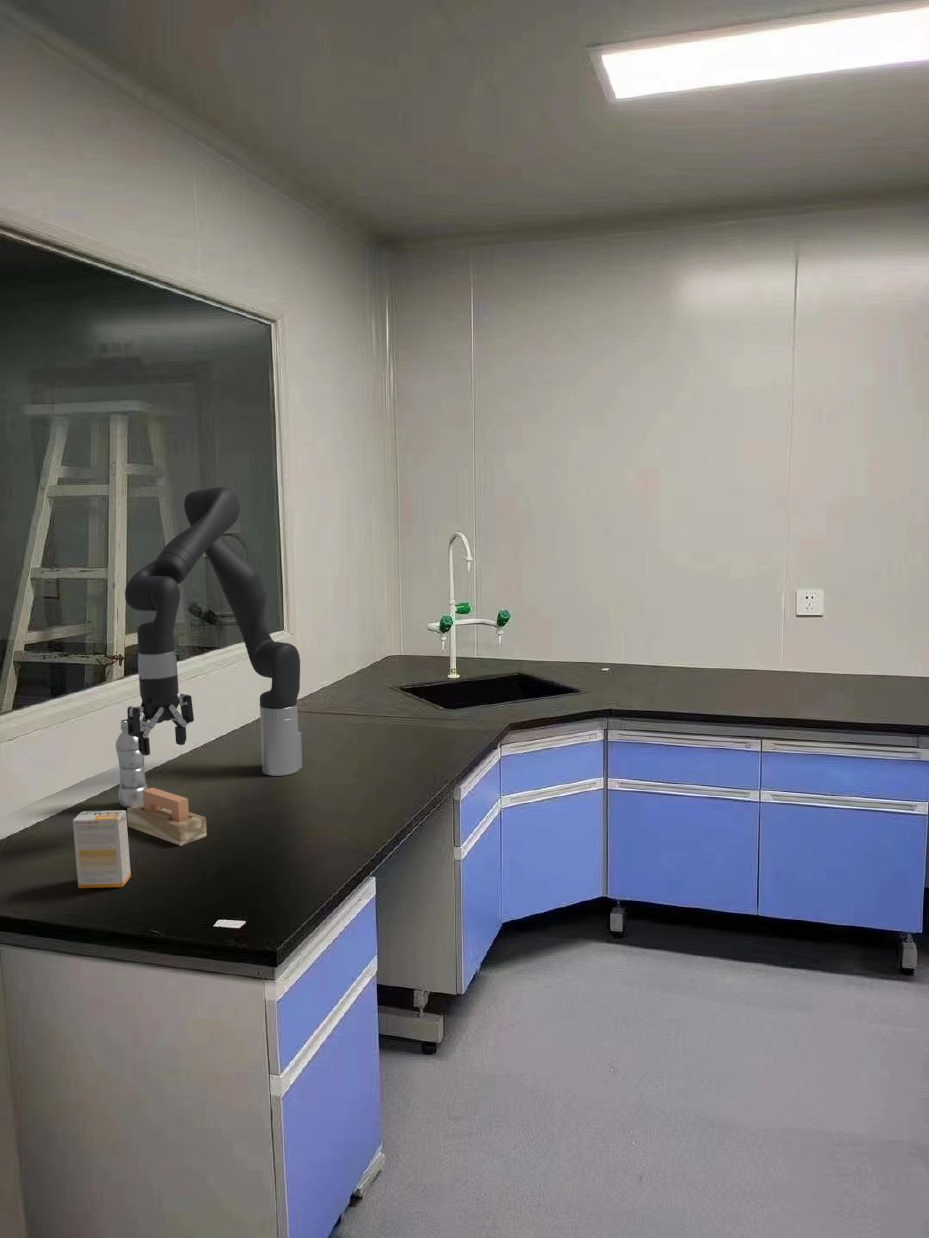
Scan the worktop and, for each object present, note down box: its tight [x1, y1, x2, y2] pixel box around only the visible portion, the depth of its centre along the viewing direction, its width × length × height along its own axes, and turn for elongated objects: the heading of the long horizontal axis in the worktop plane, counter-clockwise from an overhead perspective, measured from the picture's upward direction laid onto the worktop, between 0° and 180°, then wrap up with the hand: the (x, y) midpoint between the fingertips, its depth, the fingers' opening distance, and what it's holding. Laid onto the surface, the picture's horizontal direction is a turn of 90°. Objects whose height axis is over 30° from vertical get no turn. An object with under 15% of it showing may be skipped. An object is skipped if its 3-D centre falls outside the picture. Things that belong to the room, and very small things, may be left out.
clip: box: [143, 787, 190, 822], centre depth 188 cm, size 2×12×7 cm, turn 54°
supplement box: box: [72, 809, 132, 889], centre depth 163 cm, size 8×5×13 cm, turn 92°
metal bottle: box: [115, 718, 149, 809], centre depth 203 cm, size 6×7×20 cm
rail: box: [126, 803, 207, 847], centre depth 189 cm, size 6×18×4 cm, turn 54°
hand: (163, 749), depth 186 cm, fingers open, 8 cm apart
